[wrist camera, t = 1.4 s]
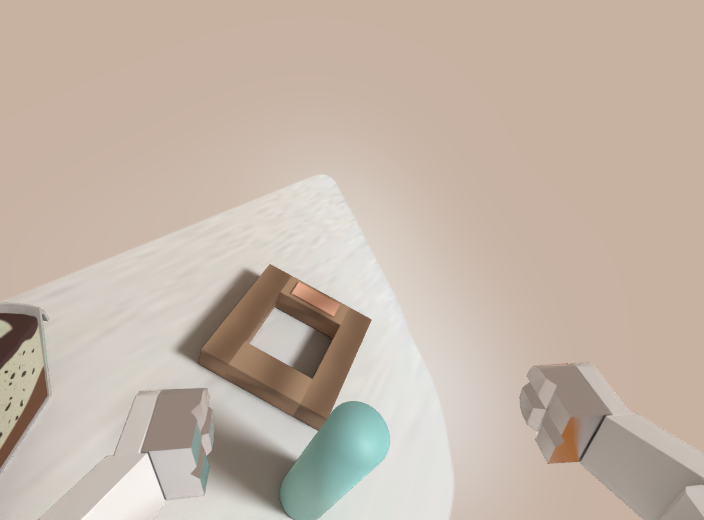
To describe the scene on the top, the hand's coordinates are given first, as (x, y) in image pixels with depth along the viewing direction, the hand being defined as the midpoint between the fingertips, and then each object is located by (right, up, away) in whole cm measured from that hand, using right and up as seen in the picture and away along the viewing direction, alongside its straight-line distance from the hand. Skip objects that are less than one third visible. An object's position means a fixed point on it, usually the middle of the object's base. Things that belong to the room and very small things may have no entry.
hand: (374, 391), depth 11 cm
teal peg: (-4, -15, +23) cm, 28 cm away
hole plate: (-7, -5, +31) cm, 32 cm away
